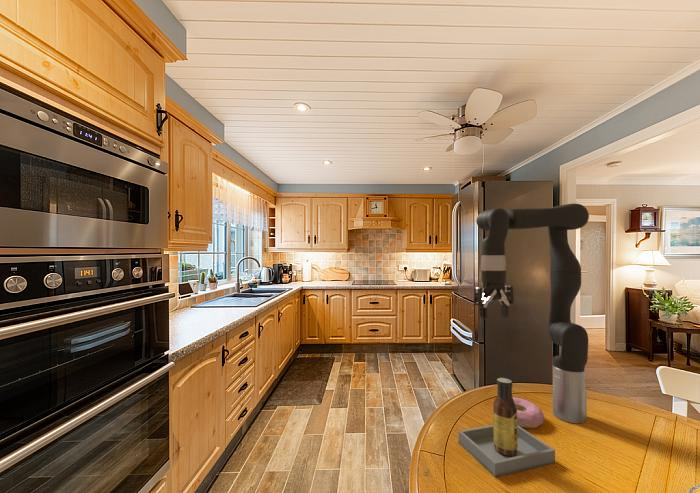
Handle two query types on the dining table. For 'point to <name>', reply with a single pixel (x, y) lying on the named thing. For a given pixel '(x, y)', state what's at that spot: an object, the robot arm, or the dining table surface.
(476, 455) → the tray
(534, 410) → the donut
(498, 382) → the sauce bottle
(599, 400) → the dining table surface
